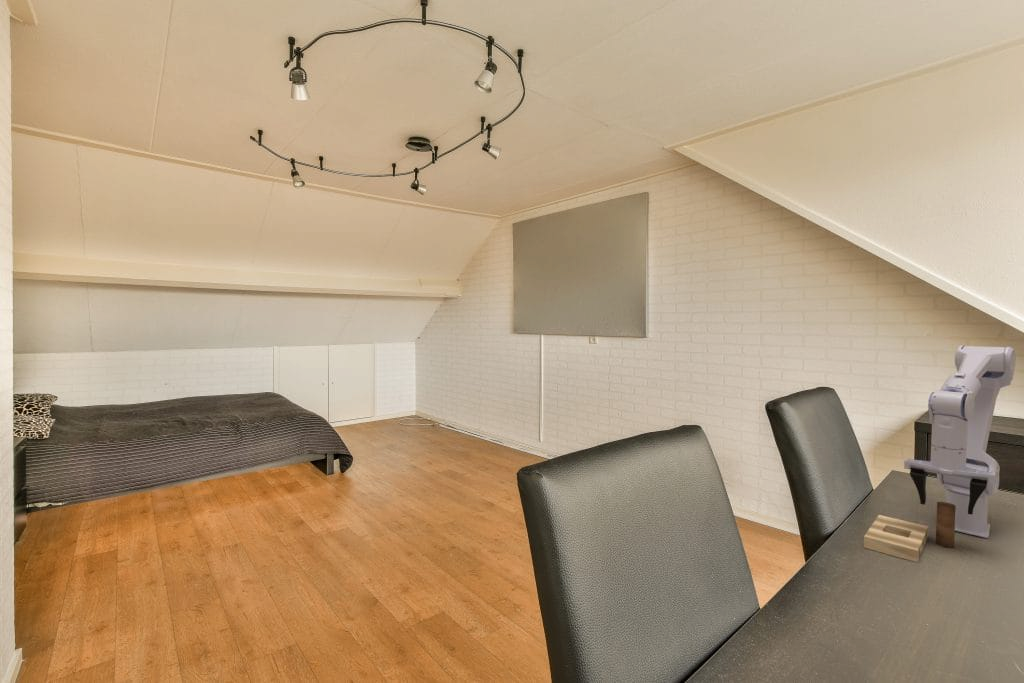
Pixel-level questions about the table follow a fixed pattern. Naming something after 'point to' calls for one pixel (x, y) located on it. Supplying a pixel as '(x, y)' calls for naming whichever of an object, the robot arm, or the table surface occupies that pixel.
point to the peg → (945, 524)
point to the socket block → (896, 538)
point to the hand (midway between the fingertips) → (946, 508)
